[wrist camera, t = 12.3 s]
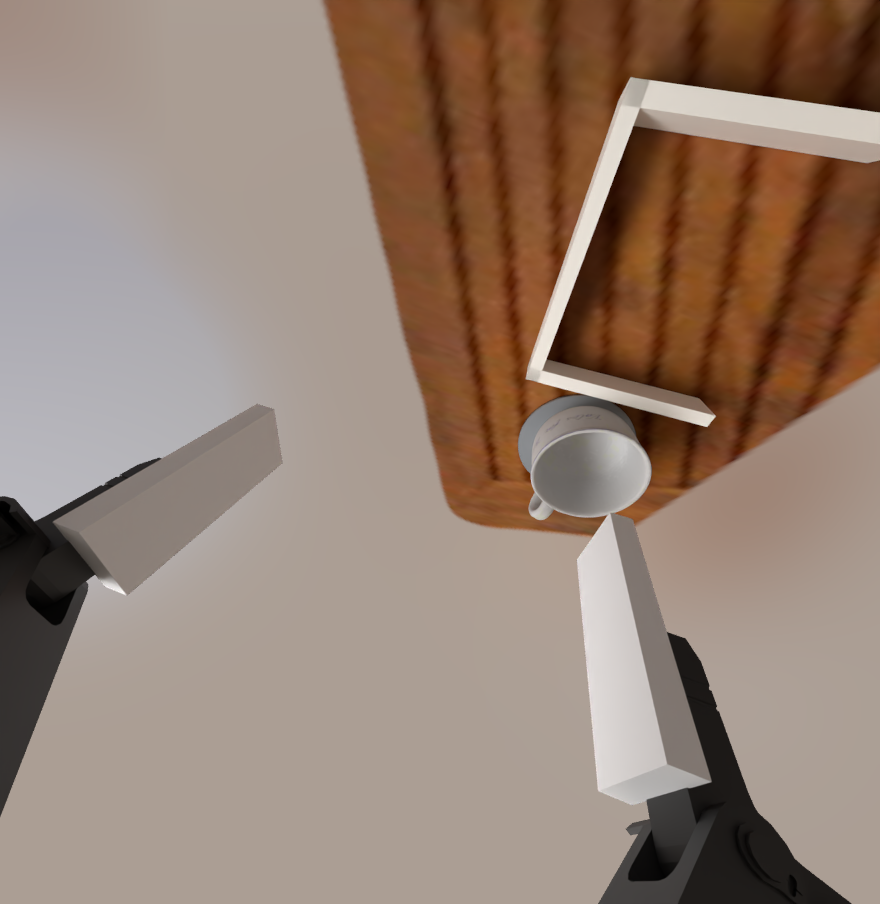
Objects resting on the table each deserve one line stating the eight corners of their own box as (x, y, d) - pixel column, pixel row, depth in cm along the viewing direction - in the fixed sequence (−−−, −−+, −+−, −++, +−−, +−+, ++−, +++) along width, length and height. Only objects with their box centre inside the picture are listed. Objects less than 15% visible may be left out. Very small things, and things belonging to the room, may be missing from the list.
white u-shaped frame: (619, 99, 23) (630, 77, 20) (884, 139, 21) (944, 121, 18) (527, 365, 35) (525, 378, 32) (691, 408, 33) (707, 427, 30)
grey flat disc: (539, 381, 36) (539, 382, 35) (659, 412, 34) (661, 415, 34) (505, 469, 43) (505, 472, 43) (603, 499, 42) (603, 502, 41)
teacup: (590, 374, 33) (600, 407, 27) (656, 441, 35) (680, 487, 29) (496, 449, 41) (486, 487, 35) (553, 500, 43) (554, 546, 37)
